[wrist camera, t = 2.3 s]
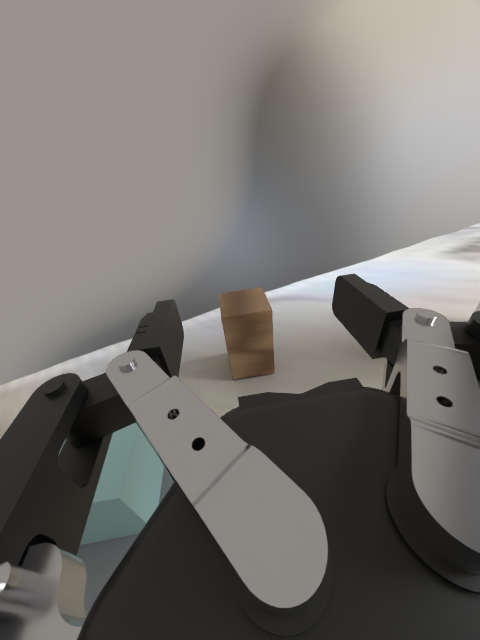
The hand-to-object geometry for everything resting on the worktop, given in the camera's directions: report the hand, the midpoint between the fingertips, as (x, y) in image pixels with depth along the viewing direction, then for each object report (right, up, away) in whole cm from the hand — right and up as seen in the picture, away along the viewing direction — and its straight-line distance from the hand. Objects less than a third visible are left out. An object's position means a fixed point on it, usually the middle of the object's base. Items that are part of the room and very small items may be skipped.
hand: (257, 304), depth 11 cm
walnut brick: (+1, -6, +18) cm, 19 cm away
